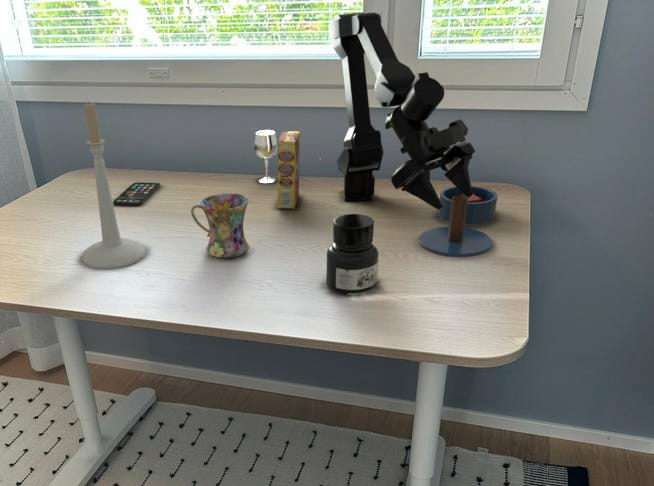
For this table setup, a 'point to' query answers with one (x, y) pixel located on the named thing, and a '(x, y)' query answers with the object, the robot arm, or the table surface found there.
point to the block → (474, 199)
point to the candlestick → (107, 211)
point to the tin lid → (456, 234)
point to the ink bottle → (352, 255)
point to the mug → (224, 224)
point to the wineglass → (266, 150)
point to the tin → (470, 205)
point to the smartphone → (136, 194)
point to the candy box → (288, 169)
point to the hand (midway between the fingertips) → (455, 202)
